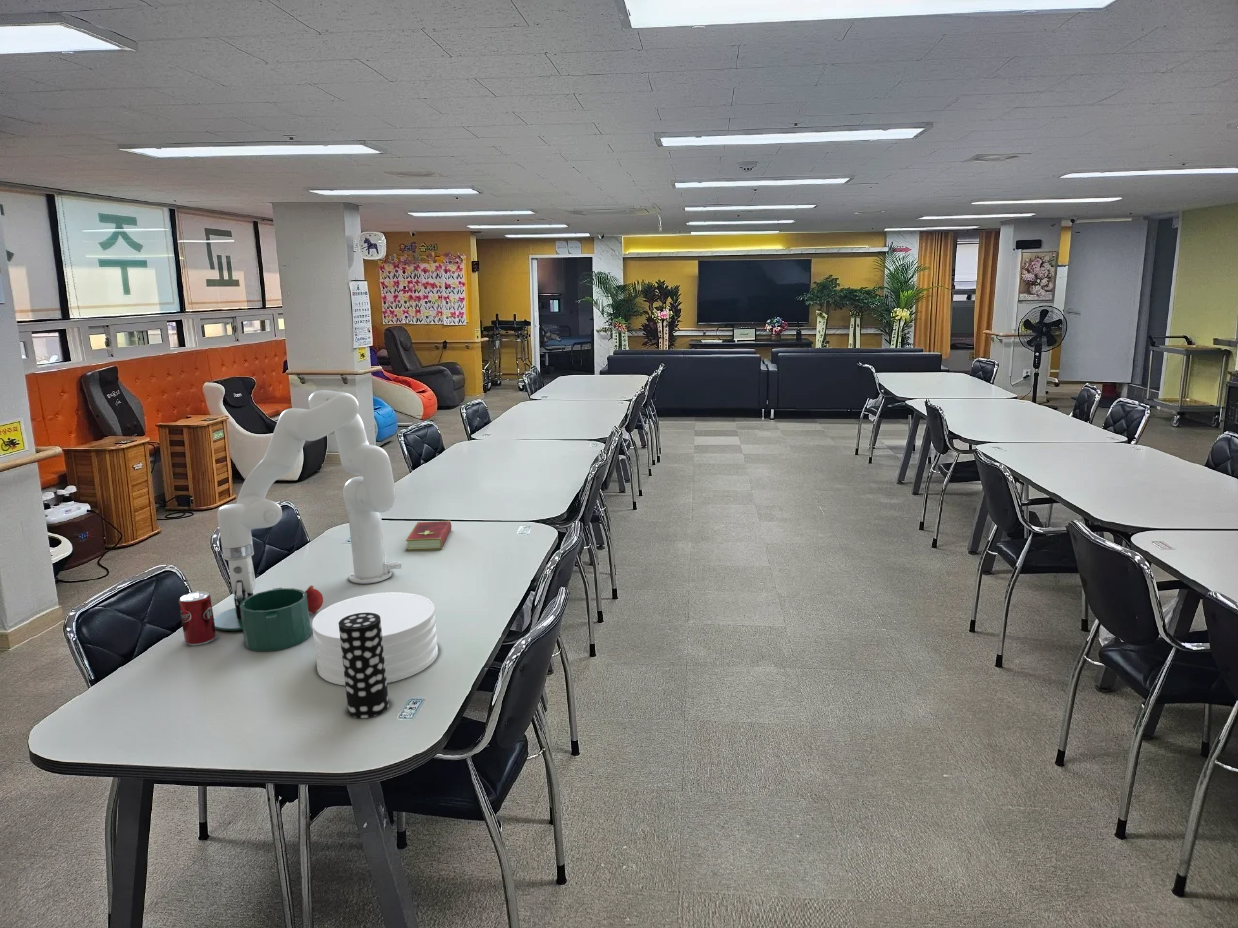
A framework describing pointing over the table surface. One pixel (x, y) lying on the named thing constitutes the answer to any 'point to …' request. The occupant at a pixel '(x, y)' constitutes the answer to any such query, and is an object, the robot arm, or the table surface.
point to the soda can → (197, 618)
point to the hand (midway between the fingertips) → (246, 611)
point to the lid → (229, 619)
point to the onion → (314, 599)
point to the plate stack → (402, 634)
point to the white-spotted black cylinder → (364, 664)
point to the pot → (275, 619)
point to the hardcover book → (428, 535)
